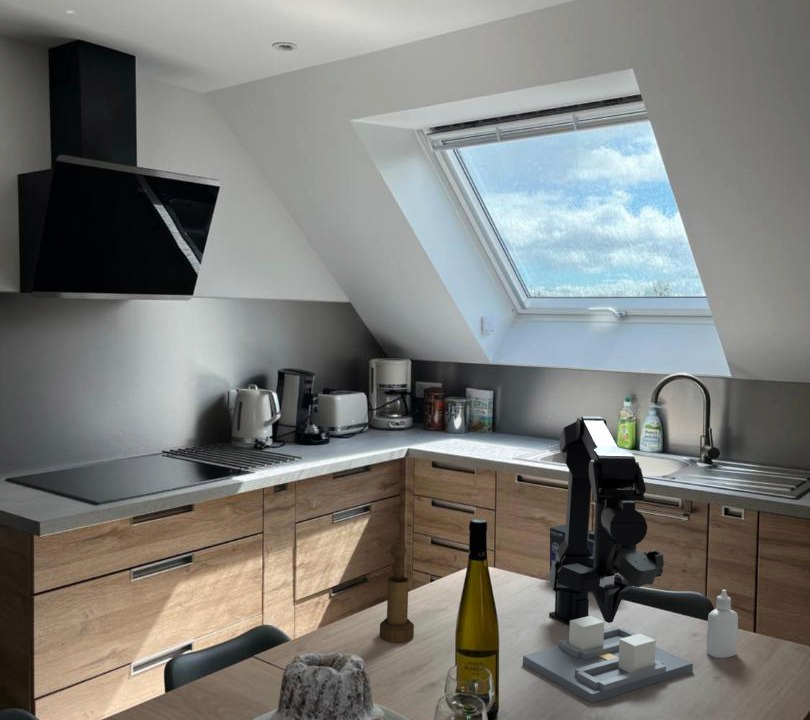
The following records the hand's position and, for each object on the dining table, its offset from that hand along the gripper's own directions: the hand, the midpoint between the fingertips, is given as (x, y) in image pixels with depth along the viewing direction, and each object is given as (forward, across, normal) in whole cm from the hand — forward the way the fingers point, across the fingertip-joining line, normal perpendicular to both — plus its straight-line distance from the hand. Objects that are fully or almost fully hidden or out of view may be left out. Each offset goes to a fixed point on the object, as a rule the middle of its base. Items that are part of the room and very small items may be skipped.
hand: (608, 621), depth 139 cm
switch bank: (+11, +5, +5) cm, 13 cm away
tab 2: (+9, +7, 0) cm, 12 cm away
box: (+11, +34, +41) cm, 55 cm away
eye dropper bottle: (+11, +28, -1) cm, 31 cm away
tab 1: (+9, +5, +10) cm, 15 cm away
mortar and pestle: (+11, -20, +35) cm, 42 cm away
